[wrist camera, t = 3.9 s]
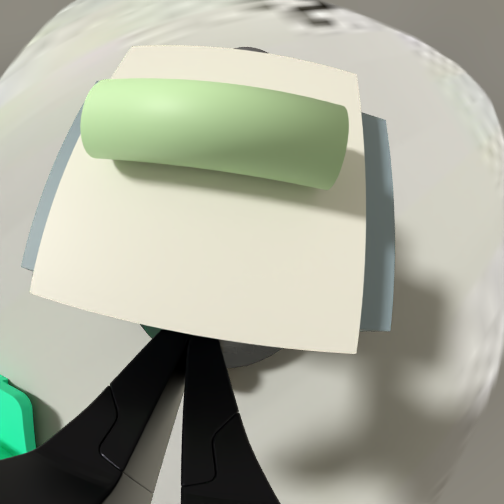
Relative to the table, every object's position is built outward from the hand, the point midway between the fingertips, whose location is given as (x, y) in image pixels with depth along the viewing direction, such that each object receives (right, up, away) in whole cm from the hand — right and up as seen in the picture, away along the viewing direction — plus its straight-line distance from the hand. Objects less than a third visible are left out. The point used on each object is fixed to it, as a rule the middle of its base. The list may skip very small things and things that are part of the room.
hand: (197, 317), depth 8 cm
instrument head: (0, +3, +9) cm, 9 cm away
